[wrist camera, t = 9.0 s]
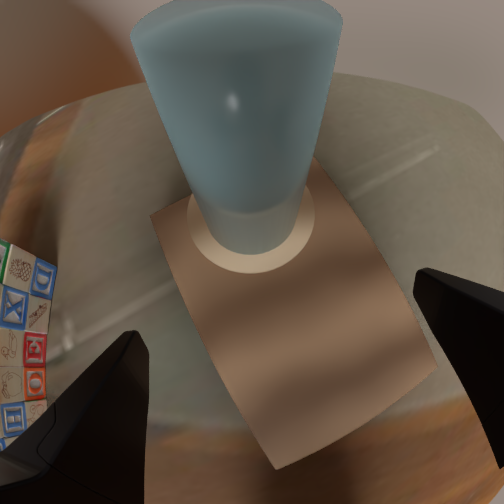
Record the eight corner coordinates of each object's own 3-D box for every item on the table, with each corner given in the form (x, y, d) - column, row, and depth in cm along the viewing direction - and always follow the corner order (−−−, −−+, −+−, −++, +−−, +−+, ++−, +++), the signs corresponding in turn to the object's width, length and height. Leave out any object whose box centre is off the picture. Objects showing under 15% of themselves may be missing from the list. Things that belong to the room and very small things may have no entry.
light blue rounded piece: (314, 212, 17) (379, 22, 5) (249, 274, 16) (218, 85, 4) (252, 159, 18) (241, -20, 6) (187, 211, 17) (101, 34, 5)
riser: (416, 364, 16) (440, 366, 13) (273, 452, 15) (276, 472, 12) (294, 160, 22) (298, 134, 19) (159, 221, 20) (144, 202, 17)
